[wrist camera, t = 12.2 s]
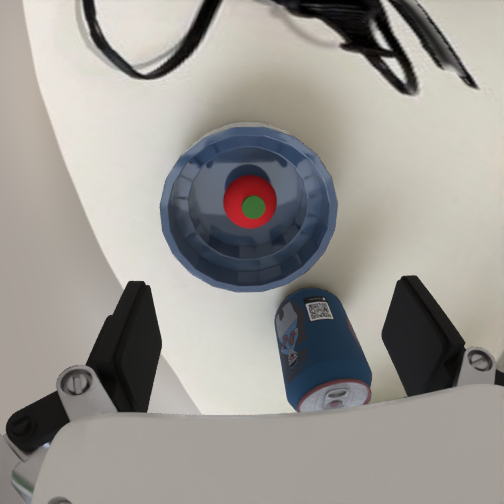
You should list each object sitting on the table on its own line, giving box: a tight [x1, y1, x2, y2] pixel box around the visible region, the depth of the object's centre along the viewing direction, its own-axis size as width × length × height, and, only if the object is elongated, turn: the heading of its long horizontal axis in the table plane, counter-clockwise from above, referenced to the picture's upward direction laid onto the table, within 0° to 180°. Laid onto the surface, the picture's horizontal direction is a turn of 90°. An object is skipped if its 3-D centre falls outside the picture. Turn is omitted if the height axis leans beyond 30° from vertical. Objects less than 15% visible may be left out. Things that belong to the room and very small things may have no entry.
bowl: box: [160, 122, 338, 292], centre depth 24 cm, size 12×12×5 cm
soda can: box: [275, 288, 372, 412], centre depth 27 cm, size 7×7×12 cm
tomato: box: [223, 175, 277, 228], centre depth 24 cm, size 4×4×4 cm
